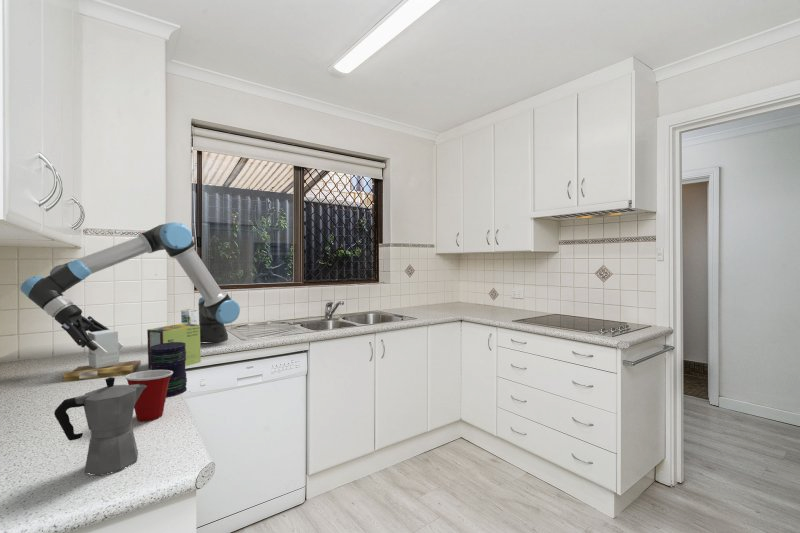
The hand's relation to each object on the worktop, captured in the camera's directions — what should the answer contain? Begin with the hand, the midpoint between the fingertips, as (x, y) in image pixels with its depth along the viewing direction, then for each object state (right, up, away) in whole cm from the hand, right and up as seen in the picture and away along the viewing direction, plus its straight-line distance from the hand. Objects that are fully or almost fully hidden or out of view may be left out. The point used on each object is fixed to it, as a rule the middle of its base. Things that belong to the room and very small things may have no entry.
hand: (112, 351), depth 144 cm
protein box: (+18, -8, +9) cm, 22 cm away
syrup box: (-10, -7, +70) cm, 71 cm away
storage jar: (+34, -8, -22) cm, 42 cm away
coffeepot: (+48, -9, -65) cm, 81 cm away
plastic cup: (+41, -9, -41) cm, 58 cm away
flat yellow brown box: (-3, -8, +1) cm, 9 cm away
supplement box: (-3, -5, 0) cm, 6 cm away
